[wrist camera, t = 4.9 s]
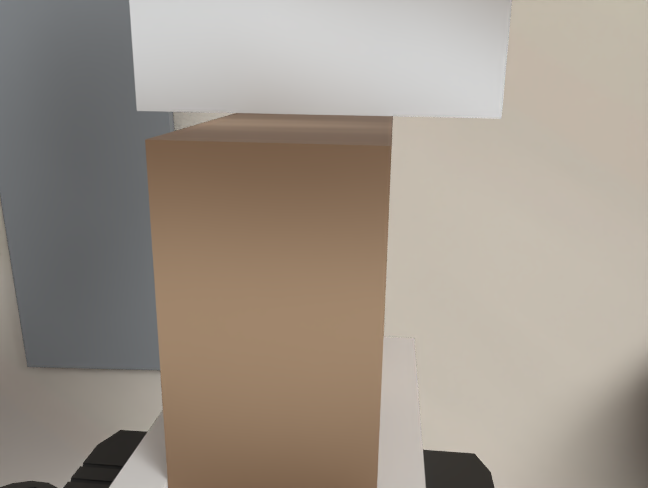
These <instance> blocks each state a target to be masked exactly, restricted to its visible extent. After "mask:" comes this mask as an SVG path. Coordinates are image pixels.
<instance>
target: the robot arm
mask: <svg viewBox="0 0 648 488" xmlns="http://www.w3.org/2000/svg"><path fill="white" fill-rule="evenodd" d="M0 488H57V487H55V486H53V485H51V484H49V483H45V482H36V481H27V482H20V483H12V484H9V485H6V486H3V487H0ZM63 488H168V478H167V463H166V448H165V433H164V418H163V410H162V412H161V413H160V415H159V416H158V418H157V419H156V420H155V422H154V423H153V425H152V426H151V428H150V429H149V431H148V432H141V431H127V430H120V431H118V432H117V433H115V434H114V435H112V436H111V437H109V438H108V439H106V440H104V441H103V442H101V443H100V444H98V445H97V446H96V448H95V449H94V450H93V451H92V453H91V454H90V455H89V456H88V458H87V459H86V460H85V461H84V463H83V467H81V466H80V468H79V469H78V470H77V471H76V473H75V474H74V475H73V476H72V478H71V482H67V484H66V485H65V486H64V487H63ZM377 488H494V484H493V480H492V476H491V472H490V471H489V470H488V469H487V467H486V466H485V465H484V464H483V463H482V462H481V461H480V459H479V458H478V457H477V456H476V455H475V454H472V453H458V452H445V451H431V450H423V444H422V431H421V418H420V404H419V391H418V378H417V365H416V351H415V338H406V337H387V336H384V338H383V361H382V384H381V408H380V431H379V454H378V477H377Z"/></svg>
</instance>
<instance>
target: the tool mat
mask: <svg viewBox="0 0 648 488" xmlns="http://www.w3.org/2000/svg"><path fill="white" fill-rule="evenodd" d="M173 131H174V121H173V112H163V111H137V106H136V92H135V77H134V63H133V48H132V34H131V20H130V5H129V0H0V197H1V203H2V210H3V216H4V222H5V228H6V235H7V241H8V247H9V253H10V260H11V266H12V272H13V278H14V285H15V291H16V297H17V304H18V310H19V316H20V322H21V329H22V335H23V341H24V347H25V354H26V360H27V366H28V367H51V368H92V369H133V370H160V357H159V342H158V327H157V312H156V297H155V282H154V267H153V252H152V237H151V222H150V207H149V192H148V177H147V162H146V147H145V139H149V138H152V137H156V136H159V135H163V134H166V133H170V132H173Z"/></svg>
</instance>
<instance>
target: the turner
mask: <svg viewBox="0 0 648 488" xmlns="http://www.w3.org/2000/svg"><path fill="white" fill-rule="evenodd" d="M129 5H130V20H131V34H132V48H133V63H134V77H135V92H136V106H137V111H163V112H211V113H235V114H232V115H228V116H225V117H221V118H218V119H214V120H211V121H207V122H204V123H201V124H197V125H194V126H190V127H187V128H183V129H180V130H176V131H173V132H170V133H166V134H163V135H159V136H156V137H152V138H149V139H145V147H146V162H147V177H148V192H149V207H150V222H151V237H152V252H153V267H154V282H155V297H156V312H157V327H158V342H159V357H160V373H161V388H162V403H163V418H164V433H165V448H166V463H167V478H168V488H377V477H378V454H379V431H380V408H381V384H382V361H383V338H384V314H385V290H386V267H387V243H388V219H389V195H390V171H391V147H392V123H393V116H404V117H453V118H502V107H503V96H504V85H505V73H506V62H507V51H508V40H509V28H510V17H511V6H512V0H129Z"/></svg>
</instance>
